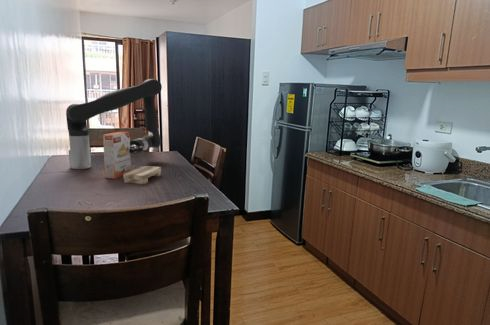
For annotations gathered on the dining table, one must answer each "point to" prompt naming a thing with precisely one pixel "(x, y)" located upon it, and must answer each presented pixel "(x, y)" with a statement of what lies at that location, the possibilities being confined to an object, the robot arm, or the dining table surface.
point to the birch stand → (141, 174)
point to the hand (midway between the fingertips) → (122, 150)
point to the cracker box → (116, 154)
